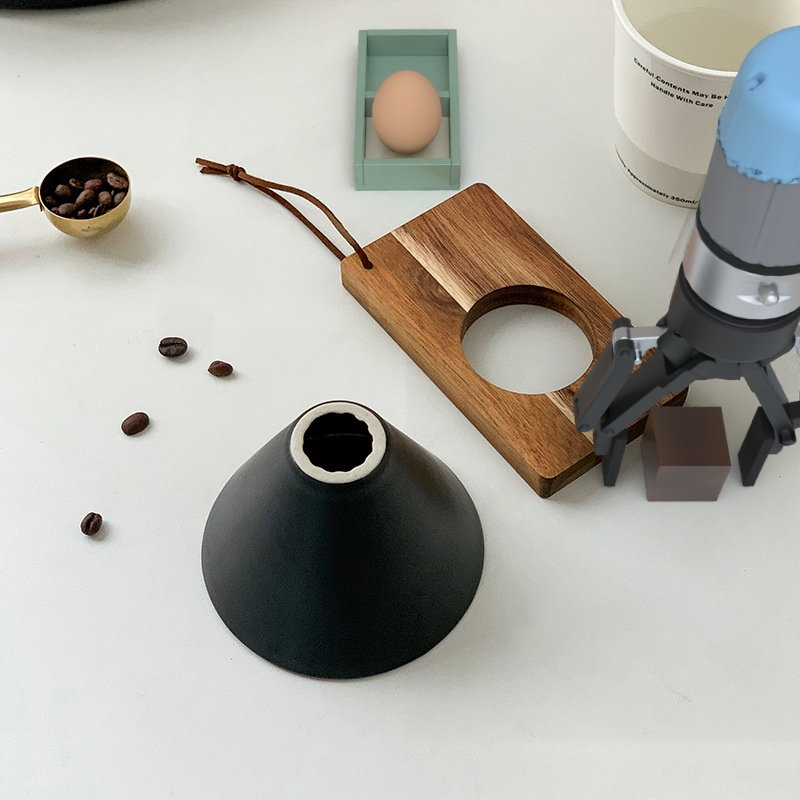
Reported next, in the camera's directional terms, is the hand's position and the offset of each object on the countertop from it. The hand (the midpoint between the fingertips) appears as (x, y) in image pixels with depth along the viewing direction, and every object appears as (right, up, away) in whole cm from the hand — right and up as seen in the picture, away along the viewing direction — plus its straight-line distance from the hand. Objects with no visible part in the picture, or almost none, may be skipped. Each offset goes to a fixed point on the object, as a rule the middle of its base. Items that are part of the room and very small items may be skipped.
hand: (676, 470), depth 88 cm
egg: (-20, +28, +18) cm, 38 cm away
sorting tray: (-20, +31, +21) cm, 42 cm away
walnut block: (0, 0, 0) cm, 0 cm away
